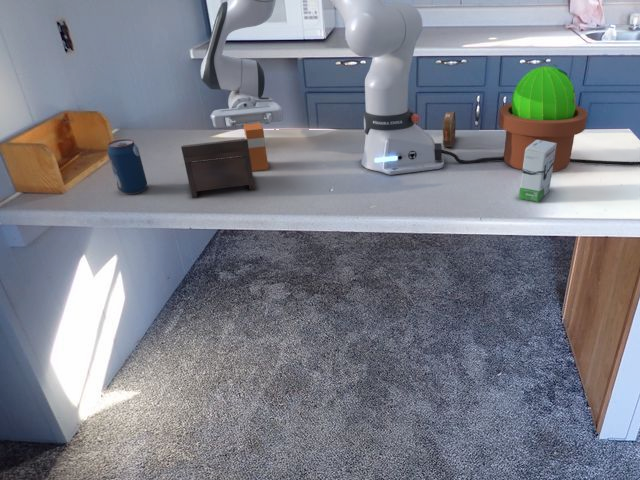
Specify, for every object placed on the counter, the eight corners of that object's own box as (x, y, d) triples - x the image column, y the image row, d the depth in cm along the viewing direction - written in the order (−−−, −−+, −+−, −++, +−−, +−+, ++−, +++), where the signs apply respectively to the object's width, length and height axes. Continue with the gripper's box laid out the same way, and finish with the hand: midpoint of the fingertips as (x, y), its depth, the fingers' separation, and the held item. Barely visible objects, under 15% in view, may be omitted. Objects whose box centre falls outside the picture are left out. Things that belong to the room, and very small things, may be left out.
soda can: (153, 185, 139) (142, 139, 132) (138, 196, 133) (125, 147, 127) (129, 184, 140) (116, 137, 134) (113, 194, 134) (98, 146, 128)
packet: (265, 162, 152) (260, 122, 146) (268, 169, 147) (263, 128, 141) (249, 164, 151) (243, 124, 145) (251, 171, 146) (245, 130, 140)
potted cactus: (490, 172, 142) (499, 70, 129) (499, 146, 160) (508, 55, 146) (578, 179, 136) (598, 74, 123) (578, 151, 154) (594, 57, 141)
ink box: (538, 203, 124) (545, 152, 118) (517, 198, 127) (523, 148, 120) (550, 190, 131) (557, 141, 124) (530, 186, 133) (536, 138, 127)
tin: (451, 151, 157) (452, 121, 152) (440, 150, 158) (441, 121, 153) (455, 135, 169) (457, 108, 165) (445, 135, 170) (446, 107, 166)
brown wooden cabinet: (250, 176, 143) (243, 128, 136) (255, 189, 135) (247, 139, 128) (191, 183, 139) (181, 135, 133) (192, 198, 131) (181, 147, 125)
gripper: (208, 103, 160) (210, 115, 149) (277, 97, 165) (284, 107, 154) (212, 125, 164) (214, 138, 152) (280, 118, 168) (287, 130, 157)
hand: (250, 122), depth 153 cm, fingers open, 8 cm apart
